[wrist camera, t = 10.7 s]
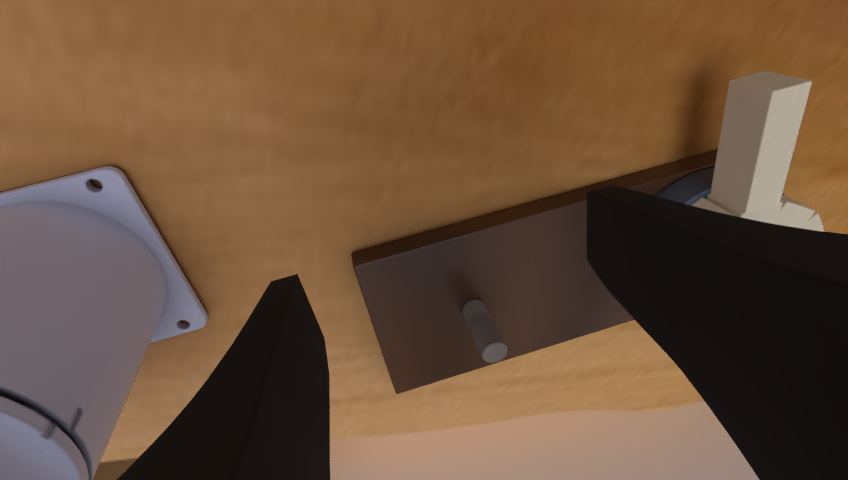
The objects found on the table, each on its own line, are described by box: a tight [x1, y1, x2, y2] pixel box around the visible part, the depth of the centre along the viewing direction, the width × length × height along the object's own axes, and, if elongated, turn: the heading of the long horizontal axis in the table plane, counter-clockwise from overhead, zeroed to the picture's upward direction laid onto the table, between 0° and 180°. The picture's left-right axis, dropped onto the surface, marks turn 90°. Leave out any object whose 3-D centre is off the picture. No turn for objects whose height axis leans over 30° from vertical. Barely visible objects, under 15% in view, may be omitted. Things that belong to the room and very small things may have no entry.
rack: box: [351, 150, 785, 394], centre depth 22 cm, size 22×9×6 cm, turn 101°
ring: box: [691, 71, 825, 232], centre depth 21 cm, size 8×13×2 cm, turn 11°
